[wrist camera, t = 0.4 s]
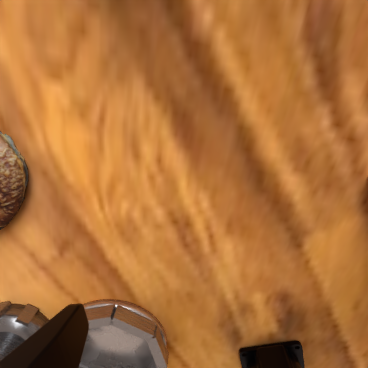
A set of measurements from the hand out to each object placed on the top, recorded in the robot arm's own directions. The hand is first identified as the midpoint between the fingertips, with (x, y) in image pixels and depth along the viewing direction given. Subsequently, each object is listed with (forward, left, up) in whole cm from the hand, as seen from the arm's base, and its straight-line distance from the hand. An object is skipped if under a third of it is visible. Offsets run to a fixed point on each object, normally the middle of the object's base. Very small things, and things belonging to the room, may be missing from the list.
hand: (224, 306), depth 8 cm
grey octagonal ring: (-17, +13, -14) cm, 25 cm away
